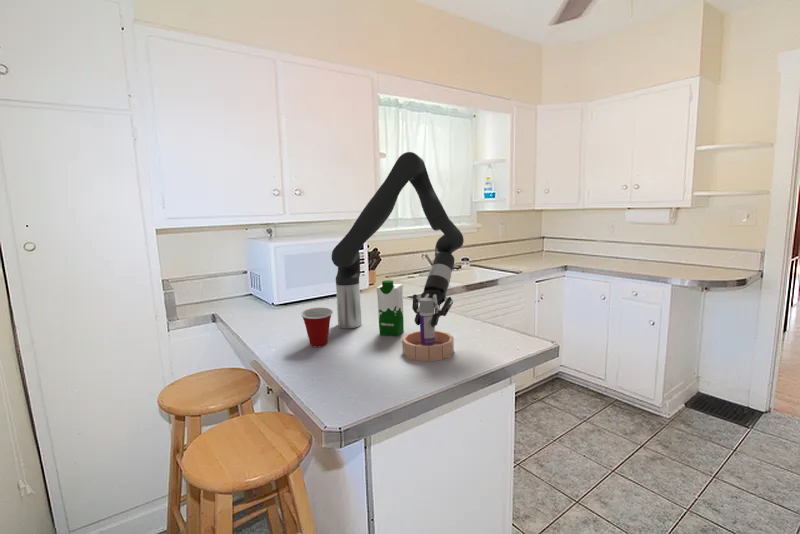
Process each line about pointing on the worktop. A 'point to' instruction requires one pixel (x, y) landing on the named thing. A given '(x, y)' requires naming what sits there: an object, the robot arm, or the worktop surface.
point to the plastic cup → (317, 325)
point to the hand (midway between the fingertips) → (424, 324)
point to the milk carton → (390, 308)
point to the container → (427, 322)
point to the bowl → (428, 347)
